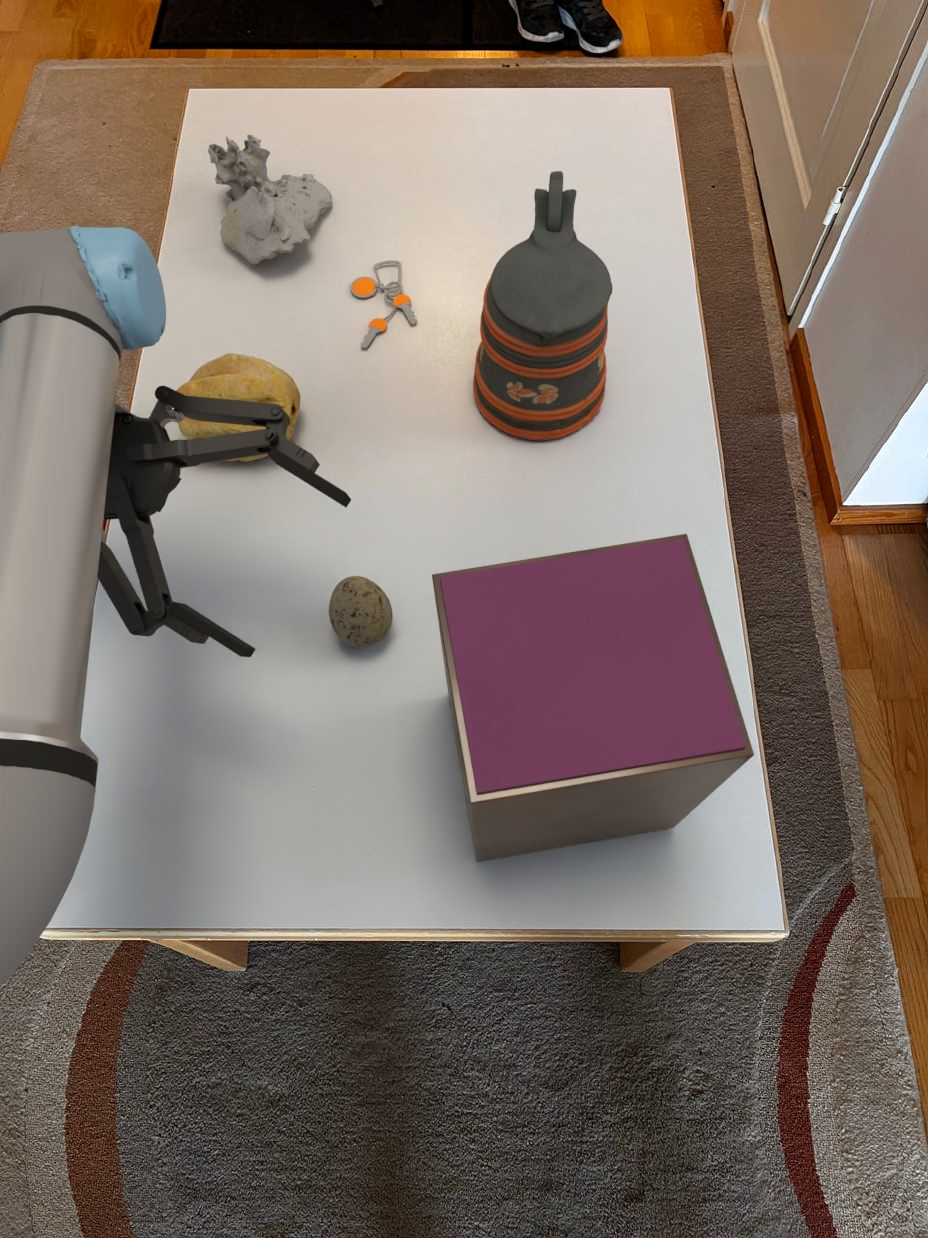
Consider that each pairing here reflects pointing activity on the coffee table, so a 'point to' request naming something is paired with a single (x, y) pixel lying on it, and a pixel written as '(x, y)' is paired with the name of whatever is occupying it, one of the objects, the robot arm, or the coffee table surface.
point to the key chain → (368, 288)
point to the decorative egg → (360, 612)
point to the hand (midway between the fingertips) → (298, 576)
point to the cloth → (586, 666)
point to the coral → (264, 202)
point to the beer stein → (544, 328)
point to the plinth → (588, 800)
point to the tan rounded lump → (239, 393)
